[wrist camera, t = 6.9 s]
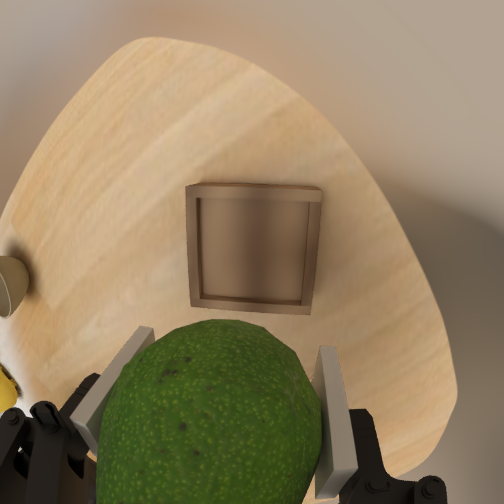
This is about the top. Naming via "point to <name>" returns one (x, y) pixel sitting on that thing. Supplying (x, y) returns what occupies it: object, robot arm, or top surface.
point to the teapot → (7, 392)
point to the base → (252, 246)
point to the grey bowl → (12, 284)
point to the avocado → (210, 421)
